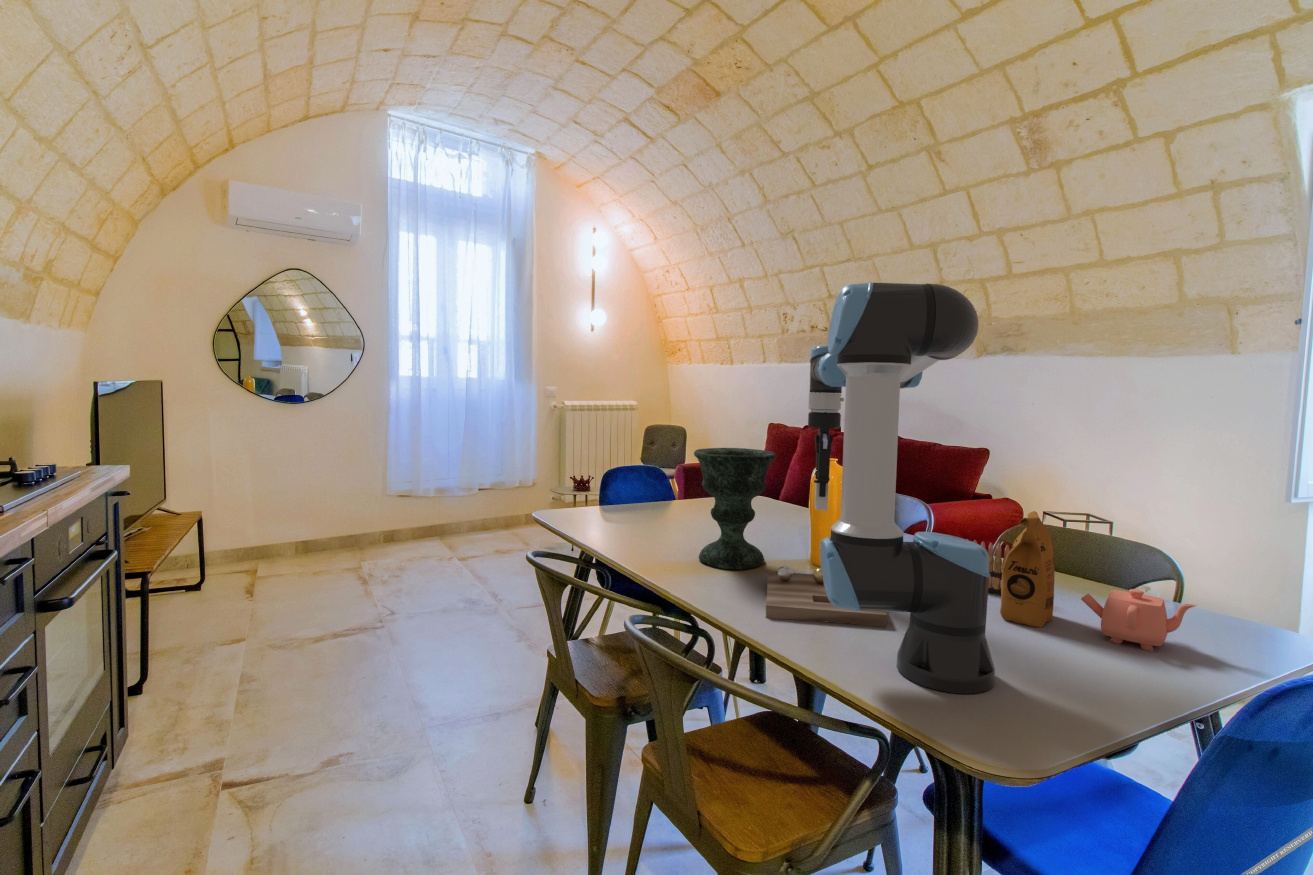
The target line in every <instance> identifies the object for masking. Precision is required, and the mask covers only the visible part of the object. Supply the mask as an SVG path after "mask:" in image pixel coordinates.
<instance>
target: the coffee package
mask: <svg viewBox="0 0 1313 875" xmlns="http://www.w3.org/2000/svg"><path fill="white" fill-rule="evenodd" d="M1018 521H1019V522H1018V524H1020V525H1022V526H1025V528H1024V529H1023V530H1022V532H1021V533H1019V535H1018V536H1017V537H1016V538H1015V540H1014V542H1013V544H1012V546H1011V548H1009V550H1010V551H1009V553H1008V555H1007V557H1006V559H1005V562H1004V566H1003V572H1002V571H1001V572H1002V580H1001V595H1000V596H1001V597H1000V609H999V610H1000V611H999V612H1000V615H1001V618H1002V619H1003V620H1004V621H1007V622H1009V621H1011V622H1012V623H1013V622H1014V623H1015V624H1019V625H1020V624H1021V625H1026V626H1028V627H1034V628H1039V629H1041V628H1043V627H1044V625H1045V624H1046V623H1048V622H1050V621H1052V618H1053V614H1054V602H1055V601H1054V600H1055V564H1054V550H1053V549H1054V548H1053V542H1052V538H1051V536H1050V534H1049V532H1048V530H1047V528H1046V527H1045V525H1044V523H1043V522H1042V520H1041V518H1040V516H1039V514H1038V512H1037V511H1030V512H1029V513H1028V514H1027V517H1023V518H1022V519H1021V520H1018Z"/></svg>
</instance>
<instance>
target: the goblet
mask: <svg viewBox="0 0 1313 875" xmlns="http://www.w3.org/2000/svg"><path fill="white" fill-rule="evenodd" d="M693 455H694V456H695V457H696V459H697V460H698V462H699V467H700V470H701V473H702V481H701V482H702V483H701V486H702V488H703V489H704V491H705V492H707V493H708V494H709V495H710V496H712V497H713V498H714V505H713V507H712V508H711V509H710V515H711V517H712V519H713V520H714V521H715V522H716V523H717V524H718V525H717V526H718V527H719V529H720V536H719V538H718V539H717V540H715V541H713V542H709V543H708V544H706V545H705V546H704V547H703V548H702V549H701V550H700V551H699V552H700V553H699V555H698V559H699V561H701V563H703V564H705V565H707V566H711V567H714V568H718V569H723V570H733V571H734V570H736V571H738V570H748V569H753V568H756V567H759V566H761V565H763V564H764V563H765V560H766V559H765V557H764V554H763V553H762V551H761V550H760V549H759V547H757V546H755V545H753V544H752V543H749V542H748V541H747V540H746V539H745V536H744V532H745V529H746V528H747V526H748V524H749V523H751V522H752V521H753V520H754V518H755V517H756V512H755V509H753V507H752V500H753V499H754V498H756V497H758V496H759V495H761V494H762V493H763V492H764V491H765V489H766V487H767V486H766V478H767V474H768V471H769V468H770V465H771V463H772V462H773V461H774V460H775V459H776V457H777V455H776V453H775V452H774V451H769V450H766V449H765V450H763V449H756V448H755V449H754V448H742V447H711V448H698V449H696V450H695V451H694V452H693Z"/></svg>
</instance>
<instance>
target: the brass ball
mask: <svg viewBox="0 0 1313 875" xmlns="http://www.w3.org/2000/svg"><path fill="white" fill-rule="evenodd" d="M812 574H813V579H814V580H815V581H816V582H817V583H824V582H823V576H822V569H821V567H818V568H815V569H814V571H813V572H812Z"/></svg>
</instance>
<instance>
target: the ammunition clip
mask: <svg viewBox="0 0 1313 875" xmlns="http://www.w3.org/2000/svg"><path fill="white" fill-rule="evenodd" d="M966 540H969V539H968V538H966ZM973 542H974V543H977V544H978V542H977V540H976V539H974V540H973ZM980 546H982V547H983V548H985V549H986V543H985V541H984V540H983V541H981V543H980ZM1003 551H1004V552H1003ZM1003 551H1002V546H1001V543H1000V542H999V543H998V544H997V546H996V550H995V555H994V545H993V542H989V545H988V549H987V552H988V555H989V573H990V578H989V587H988V594H993V595H997V594H998V595H997V596H1001V580H1002V572H1003V566H1004V562H1005V559H1006V557H1007V555H1008V553H1009V551H1010V546H1009V544H1006V545H1005V548H1004V550H1003ZM1002 552H1003V557H1002ZM994 556H995V558H994ZM1002 558H1003V560H1002Z"/></svg>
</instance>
